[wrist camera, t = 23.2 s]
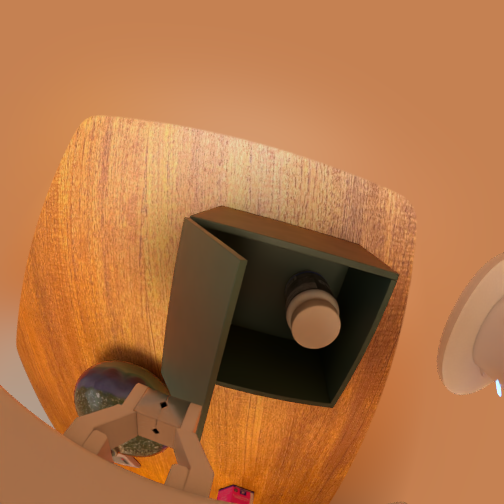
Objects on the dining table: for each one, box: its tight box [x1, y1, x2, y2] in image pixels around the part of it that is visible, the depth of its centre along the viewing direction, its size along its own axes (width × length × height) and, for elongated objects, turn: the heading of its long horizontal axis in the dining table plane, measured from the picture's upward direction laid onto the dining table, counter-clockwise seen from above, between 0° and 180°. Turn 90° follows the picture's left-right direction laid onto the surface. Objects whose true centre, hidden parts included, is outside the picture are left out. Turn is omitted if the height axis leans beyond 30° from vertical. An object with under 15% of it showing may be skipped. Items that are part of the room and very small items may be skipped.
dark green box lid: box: [161, 217, 247, 441], centre depth 15 cm, size 7×13×1 cm
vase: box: [74, 360, 171, 457], centre depth 28 cm, size 15×15×13 cm
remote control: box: [112, 454, 141, 468], centre depth 40 cm, size 7×16×3 cm, turn 16°
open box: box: [190, 206, 399, 408], centre depth 24 cm, size 15×13×10 cm
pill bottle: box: [285, 271, 341, 349], centre depth 24 cm, size 5×5×8 cm
